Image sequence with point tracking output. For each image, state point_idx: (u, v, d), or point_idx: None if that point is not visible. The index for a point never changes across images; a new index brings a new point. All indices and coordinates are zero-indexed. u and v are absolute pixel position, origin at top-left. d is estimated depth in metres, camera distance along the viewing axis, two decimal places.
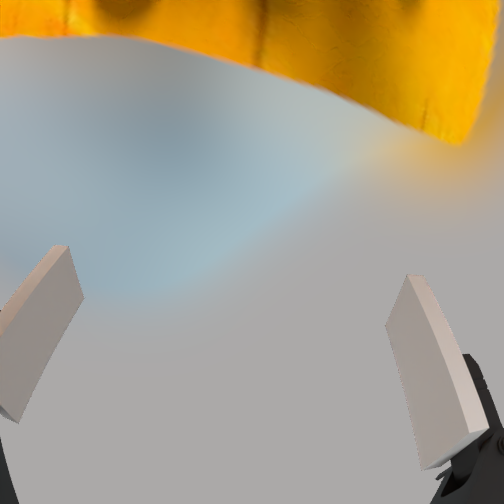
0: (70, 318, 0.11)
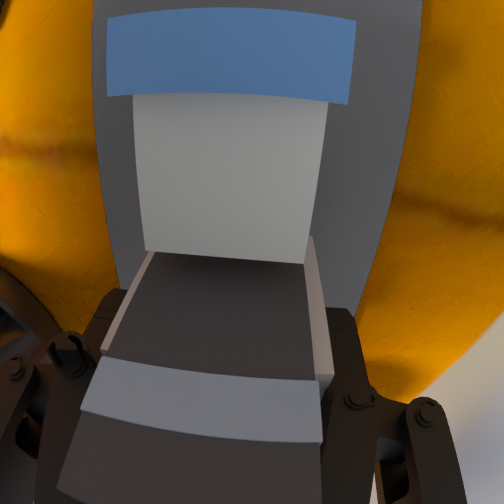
0: None
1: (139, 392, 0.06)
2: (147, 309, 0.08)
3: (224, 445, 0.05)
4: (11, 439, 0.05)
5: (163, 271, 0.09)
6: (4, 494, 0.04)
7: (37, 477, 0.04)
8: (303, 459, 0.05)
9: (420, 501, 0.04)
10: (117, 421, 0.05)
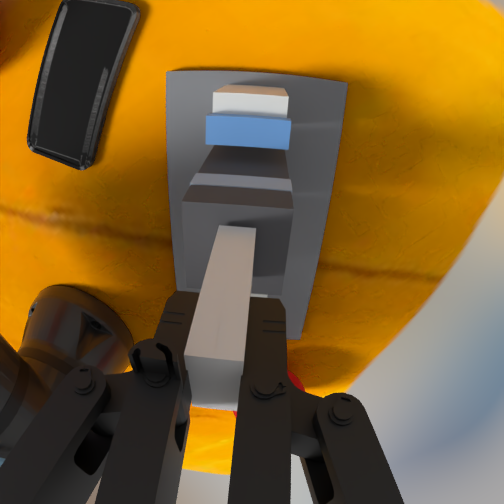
0: None
1: (215, 179, 0.15)
2: (213, 163, 0.17)
3: (253, 189, 0.14)
4: (69, 458, 0.05)
5: (217, 155, 0.18)
6: None
7: (100, 489, 0.05)
8: (284, 194, 0.14)
9: None
10: (207, 185, 0.14)
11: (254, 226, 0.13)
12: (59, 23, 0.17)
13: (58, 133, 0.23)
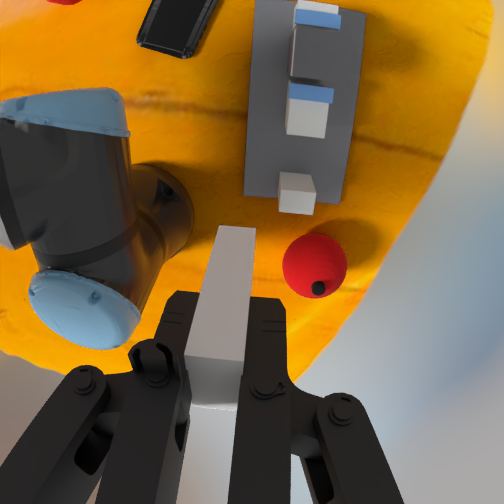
0: None
1: None
2: None
3: None
4: (69, 458, 0.05)
5: None
6: None
7: (100, 489, 0.05)
8: None
9: None
10: None
11: (333, 41, 0.22)
12: None
13: (167, 33, 0.31)
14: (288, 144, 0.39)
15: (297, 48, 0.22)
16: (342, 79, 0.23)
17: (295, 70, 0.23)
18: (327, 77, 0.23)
